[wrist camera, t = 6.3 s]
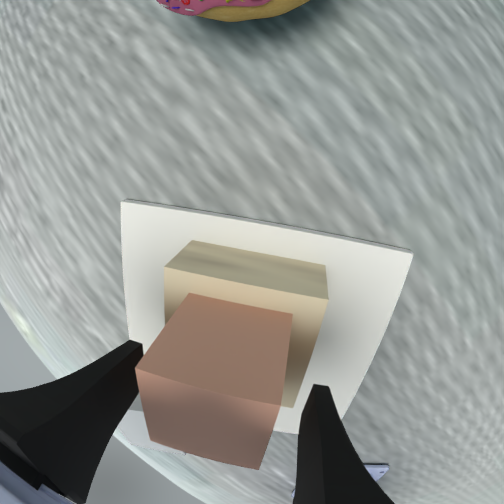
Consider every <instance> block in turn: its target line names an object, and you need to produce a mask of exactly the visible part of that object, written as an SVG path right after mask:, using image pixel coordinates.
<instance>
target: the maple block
mask: <svg viewBox="0 0 504 504" xmlns="http://www.w3.org/2000/svg"><path fill="white" fill-rule="evenodd" d="M188 293H193V294H198V295H202V296H207V297H211V298H216V299H220V300H225V301H230V302H235V303H239V304H244V305H249V306H254V307H259V308H264V309H270V310H275V311H280V312H285V313H291V314H293V316H292V325H291V334H290V342H289V350H288V358H287V365H286V373H285V380H284V387H283V394H282V401H281V406H282V407H288V408H293V407H294V404H295V401H296V399H297V396H298V393H299V391H300V388H301V385H302V382H303V379H304V376H305V374H306V371H307V368H308V365H309V362H310V359H311V356H312V353H313V350H314V347H315V343H316V340H317V337H318V334H319V331H320V328H321V324H322V321H323V318H324V314H325V311H326V308H327V304H328V301H329V298H328V287H327V277H326V268H325V265H322V264H317V263H311V262H306V261H301V260H296V259H290V258H285V257H280V256H274V255H269V254H264V253H258V252H253V251H248V250H242V249H237V248H232V247H226V246H221V245H216V244H211V243H205V242H200V241H195V240H192V241H190V242H189V243H188V244H187V245H186V246H185V247H184V248H183V249H182V250H181V251H180V252H179V253H178V254H177V255H176V256H175V257H174V258H173V259H171V260H170V261H169V262H168V263H167V264H166V265H165V266H164V314H165V325H166V324H167V322H168V321H169V319H170V318H171V317H172V315H173V314H174V313H175V311H176V310H177V308H178V307H179V306H180V304H181V303H182V302H183V300H184V299H185V297H186V296H187V295H188Z"/></svg>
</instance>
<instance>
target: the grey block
mask: <svg viewBox="0 0 504 504" xmlns="http://www.w3.org/2000/svg"><path fill="white" fill-rule="evenodd" d="M117 427H118V429H119V430H120V431H121V433H122V434H123V435H124V436H125V438H126V439H127V440H128V441H129V443H130V444H131V445H134V446H139V447H143V448H148V449H153V450H158V451H163V452H169V453H175V454H181V455H186V452H183V451H179V450H176V449H173V448H170V447H167V446H164V445H161V444H158V443H155V442H153V441H150V438H149V434H148V430H147V426H146V421H145V417H144V412H143V408H142V403H141V398H140V393H138V395H137V397H136V398H135V400H134V402H133V403H132V405H131V406H130V408H129V409H128V411H127V412H126V414H125V415H124V417H123V418H122V420H121V422H120V423H119V425H118V426H117Z"/></svg>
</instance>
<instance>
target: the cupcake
mask: <svg viewBox="0 0 504 504" xmlns="http://www.w3.org/2000/svg"><path fill="white" fill-rule="evenodd" d="M157 1H158V2H159V3H160V5H162V6H163V7H165V8H167V9H169V10H171V11H173V12H176V13H179V14H183V15H188V16H194V15H196V16H200V17H204V18H209V19H214V20H220V21H226V22H238V21H244V20H250V19H261V18H269V17H274V16H278V15H281V14H284V13H286V12H289V11H291V10H293V9H295V8H297V7H299V6H301V5H303V4H304V3H306V2H308V1H309V0H157Z"/></svg>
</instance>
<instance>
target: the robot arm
mask: <svg viewBox="0 0 504 504" xmlns="http://www.w3.org/2000/svg"><path fill="white" fill-rule="evenodd" d="M143 356H144V353H143V344H142V343H139V342H136V341H133V340H129V341H127V342H125V343H124V344H122V345H121V346H119V347H117V348H116V349H114V350H113V351H111V352H109V353H108V354H106V355H104V356H103V357H101V358H99V359H98V360H96V361H94V362H93V363H91V364H89V365H87V366H85V367H83V368H82V369H80V370H78V371H76V372H74V373H72V374H70V375H67V376H65V377H63V378H60V379H58V380H55V381H53V382H50V383H46V384H43V385H40V386H36V387H33V388H29V389H24V390H19V391H13V392H4V393H0V504H74V503H72V502H70V501H69V500H67V499H65V498H64V497H66V498H68V499H70V500H71V501H73V502H75V503H77V504H84V503H86V499H87V496H88V493H89V489H90V486H91V483H92V480H93V477H94V475H95V472H96V469H97V467H98V464H99V462H100V460H101V457H102V455H103V453H104V451H105V448H106V446H107V444H108V442H109V440H110V438H111V436H112V434H113V433H114V431H115V429H116V428H117V426H118V425H119V423H120V422H121V420H122V418H123V417H124V415H125V414H126V412H127V411H128V409H129V408H130V406H131V405H132V403H133V402H134V400H135V398H136V397H137V395H138V393H139V388H138V382H137V377H136V371H135V367H136V366H137V364H138V363H139V361H140V360H141V359H142V357H143ZM388 470H389V466H388V465H364V464H363V463H362V461H361V460H360V458H359V456H358V454H357V453H356V451H355V449H354V447H353V445H352V443H351V441H350V439H349V437H348V435H347V433H346V431H345V428H344V426H343V424H342V421H341V419H340V416H339V414H338V411H337V408H336V406H335V403H334V400H333V397H332V394H331V390H330V388H329V386H326V385H319V384H313V386H312V389H311V391H310V394H309V396H308V399H307V401H306V404H305V406H304V409H303V411H302V413H301V419H300V426H299V433H298V453H297V477H296V488H295V490H294V491H293V493H292V494H291V497H293V498H294V499H293V504H395V503H394V502H393V501H392V500H391V499H390V498H389V497H388V496H387V495H386V494H385V493H384V491H383V490H382V489H381V488H380V486H379V485H378V484H377V483H376V481H378V480H379V479H380V478H381V477H382V476H383V475H384V474H385V473H386V472H387V471H388ZM59 494H60V495H62V496H64V497H62V496H60V495H59Z"/></svg>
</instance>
